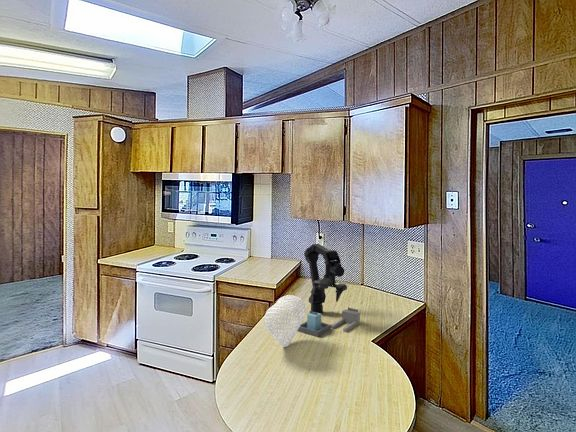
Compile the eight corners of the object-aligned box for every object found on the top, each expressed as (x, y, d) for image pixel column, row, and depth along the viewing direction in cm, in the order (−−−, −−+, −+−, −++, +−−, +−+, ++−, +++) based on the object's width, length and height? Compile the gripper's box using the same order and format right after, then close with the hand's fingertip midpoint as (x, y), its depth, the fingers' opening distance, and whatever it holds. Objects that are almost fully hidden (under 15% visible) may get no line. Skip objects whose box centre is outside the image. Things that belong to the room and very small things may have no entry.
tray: (296, 331, 181) (297, 326, 181) (310, 323, 191) (310, 319, 191) (318, 337, 173) (318, 332, 173) (330, 329, 184) (330, 324, 183)
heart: (278, 333, 178) (279, 290, 177) (308, 336, 173) (308, 293, 172) (259, 357, 151) (260, 307, 150) (293, 362, 147) (294, 310, 145)
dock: (330, 328, 185) (330, 315, 185) (345, 319, 200) (346, 306, 199) (345, 332, 180) (346, 318, 180) (360, 322, 194) (360, 310, 194)
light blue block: (307, 329, 181) (307, 312, 181) (313, 326, 186) (313, 310, 186) (315, 332, 178) (315, 314, 178) (321, 328, 183) (321, 311, 183)
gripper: (308, 272, 193) (308, 300, 194) (337, 278, 182) (337, 307, 183) (319, 269, 202) (318, 295, 203) (347, 274, 191) (347, 302, 192)
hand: (329, 300), depth 195 cm, fingers open, 9 cm apart
